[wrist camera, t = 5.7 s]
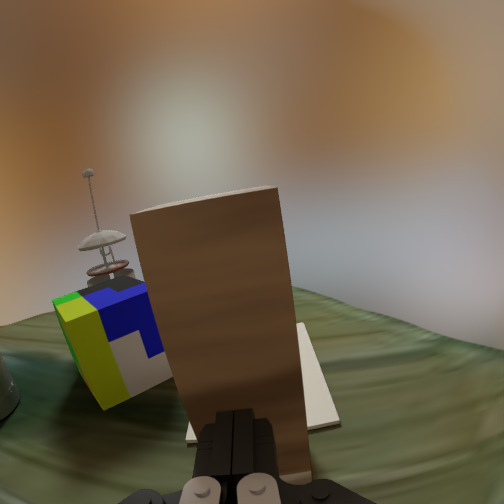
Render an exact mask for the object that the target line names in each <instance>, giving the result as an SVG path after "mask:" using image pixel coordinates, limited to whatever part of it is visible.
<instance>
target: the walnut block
mask: <svg viewBox="0 0 504 504" xmlns="http://www.w3.org/2000/svg"><path fill="white" fill-rule="evenodd" d="M130 220H131V224H132V229H133V234H134V238H135V243H136V248H137V252H138V256H139V261H140V265H141V269H142V273H143V277H144V281H145V285H146V289H147V292H148V296H149V300H150V303H151V307H152V311H153V314H154V318H155V321H156V324H157V328H158V331H159V334H160V338H161V341H162V344H163V347H164V351H165V354H166V357H167V360H168V363H169V366H170V369H171V372H172V375H173V378H174V381H175V383H176V386H177V389H178V392H179V395H180V397H181V400H182V403H183V406H184V408H185V411H186V414H187V416H188V419H189V421H190V424H191V426H192V429H193V431H194V434H195V436H196V439H197V441H198V440H199V433H200V431H201V430H202V428H203V427H204V426H205V424H210V423H215V419H216V412H217V411H227V410H236V409H245V408H253V411H254V415H255V419H260V418H267V419H268V421H269V422H270V423H271V424H272V427H273V433H274V438H275V443H276V449H277V458H278V468H279V477H280V478H281V479H282V480H283V481H285V482H287V483H289V484H293V485H302V484H307V483H309V482H311V481H312V476H311V463H310V451H309V440H308V428H307V418H306V407H305V397H304V387H303V378H302V369H301V360H300V351H299V342H298V333H297V325H296V317H295V309H294V301H293V293H292V285H291V278H290V270H289V263H288V256H287V250H286V242H285V235H284V228H283V221H282V215H281V208H280V201H279V195H278V188H277V187H274V186H270V185H269V186H261V187H255V188H249V189H243V190H237V191H231V192H225V193H219V194H214V195H208V196H203V197H198V198H192V199H187V200H182V201H176V202H172V203H167V204H162V205H158V206H154V207H151V208H148V209H145V210H142V211H139V212H136V213H133V214H130Z"/></svg>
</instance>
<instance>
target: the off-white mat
mask: <svg viewBox="0 0 504 504" xmlns="http://www.w3.org/2000/svg"><path fill="white" fill-rule="evenodd" d="M296 325H297V333H298V342H299V351H300V360H301V369H302V378H303V387H304V397H305V407H306V418H307V428H308V430H311V429H316V428H321V427H326V426H331V425H335V424H339V423H340V420H339V417H338V414H337V412H336V409H335V406H334V403H333V401H332V398H331V395H330V392H329V390H328V387H327V384H326V382H325V379H324V376H323V374H322V371H321V368H320V365H319V363H318V360H317V357H316V355H315V352H314V350H313V347H312V344H311V342H310V339H309V336H308V334H307V331H306V328H305V326H304V323H298V324H296ZM186 442H187V443H198V441H197V439H196V436H195V434H194V431H193V429H192V426H191V424H190V421H189V426H188V431H187V435H186Z"/></svg>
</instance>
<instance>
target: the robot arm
mask: <svg viewBox="0 0 504 504" xmlns="http://www.w3.org/2000/svg"><path fill="white" fill-rule="evenodd" d="M19 398H20V394H19V391H18V389H17V387H16V386H15V384H14V382H13V380H12V378H11V376H10V374H9V372H8V369H7V367H6V365H5V363H4V361H3V358H2V356H1V354H0V420H2V419H3V418H5V417H6V416H7V415H9V414H10V413H11V412H12V411H13V410H14V409H15V407H16V405H17V404H18V402H19ZM118 504H376V503H374V502H372V501H370V500H368V499H366V498H364V497H362V496H360V495H358V494H356V493H354V492H352V491H351V490H349V489H347V488H345V487H343V486H341V485H340V484H338V483H336V482H334V481H332V480H328V479H318V480H314V481H311V482H309V483H308V484H306V485H305V486H303V485H293V484H289V483H287V482H285V481H283V480H282V479H281V478H280V477H279V468H278V458H277V449H276V443H275V438H274V433H273V427H272V424H271V423H270V422H269V421H268V419H267V418H260V419H255V415H254V411H253V408H245V409H236V410H227V411H217V412H216V419H215V423H210V424H205V426H204V427H203V428H202V430H201V431H200V433H199V440H198V446H197V452H196V458H195V465H194V471H193V477H192V479H191V480H190V481H188V482H187V483H186V484H185V486H184V488H183V489H182V490H180V491H178V492H174V493H170V494H165V495H160V494H159V493H158V492H157V491H155V490H152V489H141V490H138V491H136V492H134V493H133V494H131V495H130V496H128V497H127V498H125V499H124V500H123V501H121V502H120V503H118Z"/></svg>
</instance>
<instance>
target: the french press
mask: <svg viewBox="0 0 504 504" xmlns="http://www.w3.org/2000/svg"><path fill="white" fill-rule="evenodd" d="M82 175H83V178H85V177H88V180H89V186H90V192H91V198H92V203H93V209H94V214H95V218H96V223H97V228H98V230H97V231H96V233H94V234H92V235H90V236H88V237H87V238H86V239H84V240H83V241H82V242H81V243H80V244H79V246H78V247H77V249H79V250H80V251H87V250H93V249H97V248H100V253H101V255H102V256H103V259H104V263H105V264H103V265H98V267H97V266H95V268H94V267H92V268H91V269H89V270H88V271H87V275H88V276H95V277H93V278H91V279H90V280H89V281H88V282H87V285H88V287H90V286H93V285H96V284H99V283H102V282H105V281H108V280H111V279H110V276H109V274H110V273H114V277H115V278H116V277H119V276H122V275H126V276H129V277H132V278H135V275H134V271H133V269H124V268H125V267H126V266H127V265H128V264H129V261H128V260H125V261H124V260H123V261H122V260H121V261H120V260H118V261H115V260H114V256H113V253H112V250H111V247H110V245H112V244H115V243H118V242H120V241H123V240H125V239H126V235H124V234H122V233H120V232H117V231H112V230H107V231H102V230H99V227H98V222H97V217H96V212H95V207H94V201H93V196H92V190H91V184H90V176H93V175H94V171H93V170H92V169H87V170H85V171H84V172H83V174H82ZM105 246H109V250H110V252H109V253H108V254H105V253H104V249H103V247H105ZM101 247H102V249H101ZM102 250H103V252H102ZM109 254H112V258H113V262H111V263H110V262H109V263H107V261H106V257H105V256H107V255H109Z"/></svg>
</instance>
